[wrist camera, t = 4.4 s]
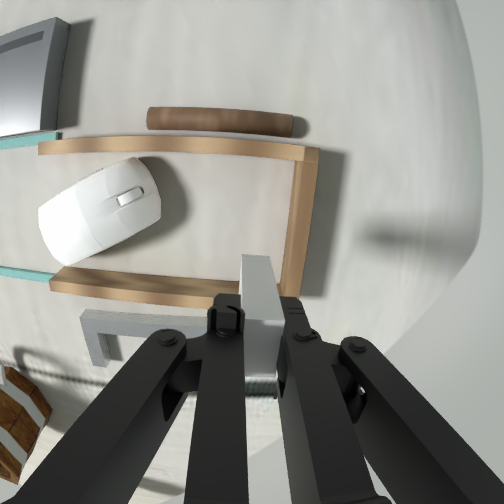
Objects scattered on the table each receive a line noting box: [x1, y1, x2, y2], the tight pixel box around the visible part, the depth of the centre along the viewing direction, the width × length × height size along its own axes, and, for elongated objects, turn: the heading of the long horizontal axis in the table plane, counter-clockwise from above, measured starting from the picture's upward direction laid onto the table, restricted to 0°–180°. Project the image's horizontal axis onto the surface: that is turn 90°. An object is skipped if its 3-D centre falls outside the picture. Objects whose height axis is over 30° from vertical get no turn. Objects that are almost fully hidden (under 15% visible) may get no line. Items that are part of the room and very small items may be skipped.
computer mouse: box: [39, 157, 161, 266], centre depth 24 cm, size 6×13×6 cm, turn 110°
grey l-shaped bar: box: [80, 309, 207, 367], centre depth 31 cm, size 16×7×2 cm, turn 88°
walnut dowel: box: [147, 107, 293, 138], centre depth 24 cm, size 12×2×2 cm
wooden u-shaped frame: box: [38, 136, 320, 309], centre depth 26 cm, size 24×14×4 cm, turn 85°
